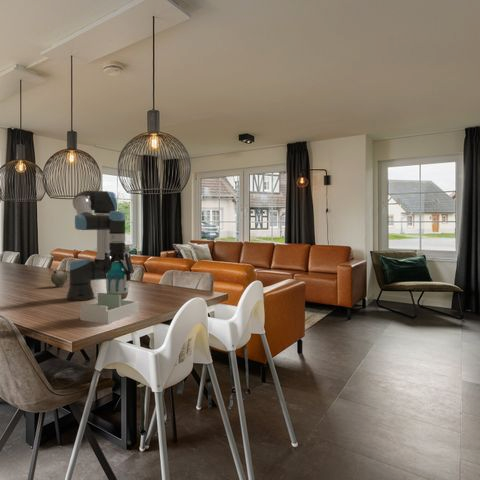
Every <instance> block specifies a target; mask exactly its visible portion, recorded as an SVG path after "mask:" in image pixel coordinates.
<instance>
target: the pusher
mask: <svg viewBox="0 0 480 480" xmlns="http://www.w3.org/2000/svg"><path fill="white" fill-rule="evenodd" d="M97 303H98V305H102V306H108V310H111V309H114V308H118V307H121V295H116V294H107V292H98V293H97Z"/></svg>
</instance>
